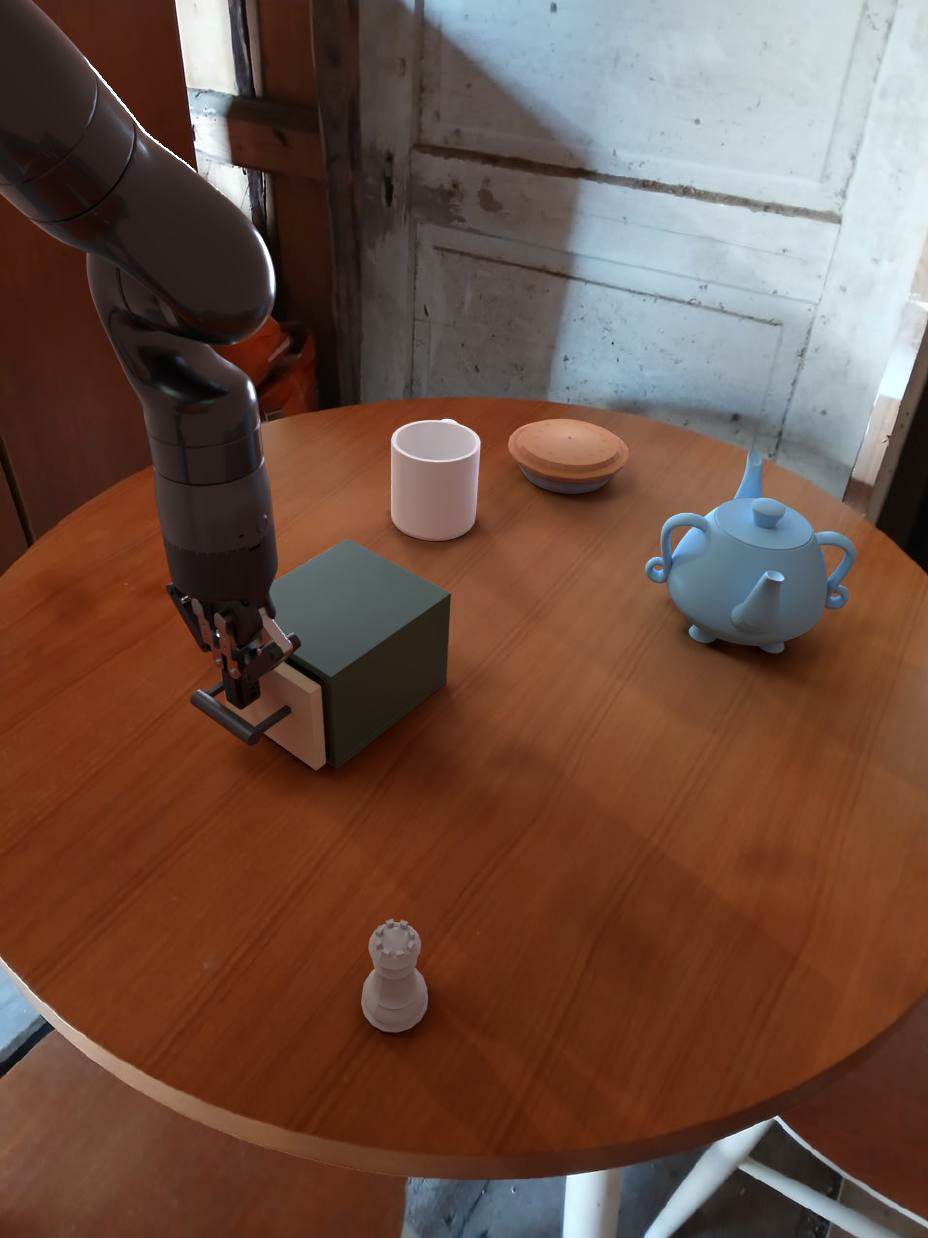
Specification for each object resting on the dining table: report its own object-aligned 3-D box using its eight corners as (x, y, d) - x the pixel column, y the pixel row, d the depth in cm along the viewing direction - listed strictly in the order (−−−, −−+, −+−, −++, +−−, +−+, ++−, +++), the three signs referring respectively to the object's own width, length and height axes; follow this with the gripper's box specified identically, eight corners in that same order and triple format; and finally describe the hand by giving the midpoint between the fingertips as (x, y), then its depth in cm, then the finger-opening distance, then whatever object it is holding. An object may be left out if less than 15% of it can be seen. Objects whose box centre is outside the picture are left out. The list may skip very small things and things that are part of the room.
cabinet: (336, 770, 76) (331, 677, 70) (237, 701, 82) (223, 609, 75) (446, 682, 85) (451, 593, 79) (350, 625, 91) (347, 537, 85)
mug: (465, 547, 103) (470, 468, 97) (380, 533, 104) (380, 454, 98) (487, 493, 113) (492, 417, 106) (409, 481, 114) (410, 405, 108)
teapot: (737, 697, 86) (778, 578, 77) (614, 586, 99) (636, 473, 90) (856, 649, 92) (905, 534, 84) (725, 550, 105) (756, 442, 97)
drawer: (273, 804, 72) (263, 726, 66) (182, 735, 77) (166, 658, 72) (422, 687, 83) (424, 613, 78) (334, 634, 89) (330, 561, 83)
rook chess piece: (398, 1050, 58) (398, 985, 53) (347, 1008, 60) (343, 941, 55) (441, 998, 61) (445, 932, 56) (391, 960, 63) (391, 892, 58)
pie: (631, 506, 112) (638, 471, 109) (506, 499, 112) (509, 463, 109) (618, 447, 124) (624, 413, 121) (505, 440, 124) (508, 407, 121)
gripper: (111, 503, 62) (153, 687, 73) (238, 580, 56) (263, 768, 67) (199, 464, 67) (226, 642, 78) (325, 531, 61) (335, 714, 72)
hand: (243, 700), depth 72 cm, fingers closed
